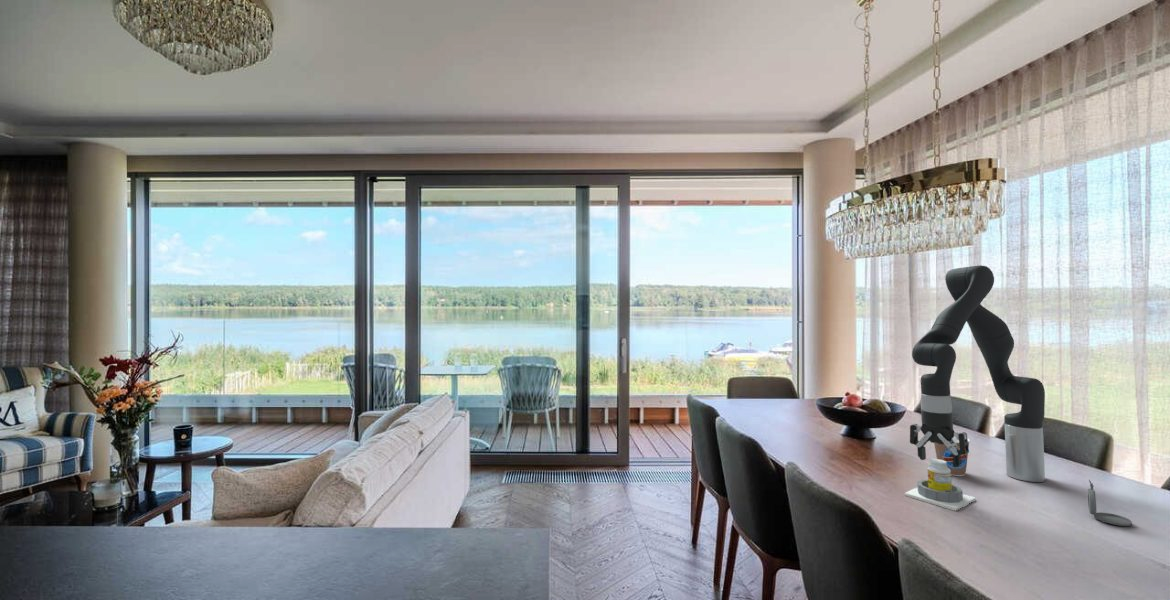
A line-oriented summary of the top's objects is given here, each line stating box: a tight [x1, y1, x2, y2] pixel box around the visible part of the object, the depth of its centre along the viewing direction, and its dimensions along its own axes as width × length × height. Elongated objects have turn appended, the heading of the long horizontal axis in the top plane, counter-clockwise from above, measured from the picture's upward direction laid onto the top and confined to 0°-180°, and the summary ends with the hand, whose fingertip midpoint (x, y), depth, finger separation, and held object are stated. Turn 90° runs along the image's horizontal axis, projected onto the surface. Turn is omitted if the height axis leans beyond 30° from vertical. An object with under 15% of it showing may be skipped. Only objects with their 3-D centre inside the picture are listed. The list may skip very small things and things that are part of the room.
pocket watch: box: [1087, 479, 1133, 527], centre depth 122 cm, size 8×8×10 cm
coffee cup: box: [933, 436, 971, 477], centre depth 158 cm, size 10×10×12 cm
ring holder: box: [904, 479, 977, 512], centre depth 138 cm, size 13×13×4 cm
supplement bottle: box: [927, 458, 952, 492], centre depth 138 cm, size 6×6×10 cm
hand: (939, 463), depth 138 cm, fingers open, 8 cm apart
